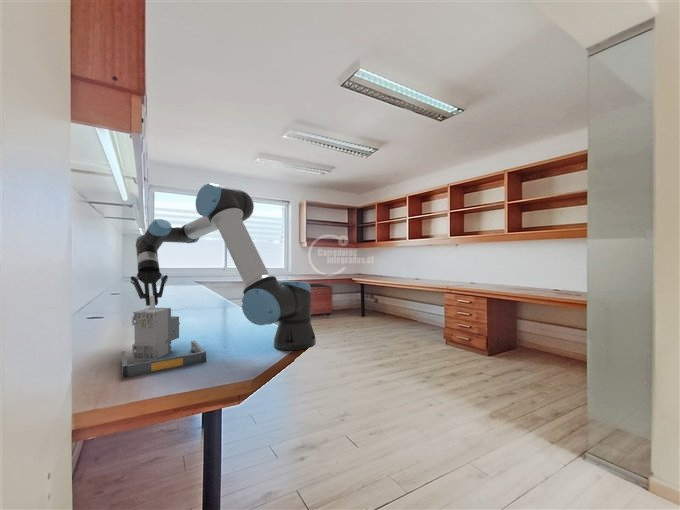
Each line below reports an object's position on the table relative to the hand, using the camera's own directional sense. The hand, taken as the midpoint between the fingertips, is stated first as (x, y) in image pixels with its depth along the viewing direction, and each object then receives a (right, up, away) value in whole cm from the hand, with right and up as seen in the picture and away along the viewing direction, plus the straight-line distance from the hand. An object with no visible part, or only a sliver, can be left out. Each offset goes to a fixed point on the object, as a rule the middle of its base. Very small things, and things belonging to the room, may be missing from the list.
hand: (152, 311), depth 115 cm
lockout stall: (+15, -12, -19) cm, 27 cm away
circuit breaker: (+8, -12, -10) cm, 18 cm away
